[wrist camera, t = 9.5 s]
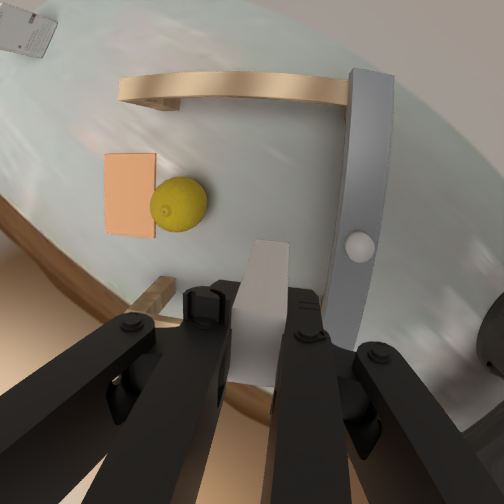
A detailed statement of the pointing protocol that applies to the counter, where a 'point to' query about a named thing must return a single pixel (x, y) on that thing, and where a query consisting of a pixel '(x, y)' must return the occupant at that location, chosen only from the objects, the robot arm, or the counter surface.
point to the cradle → (218, 85)
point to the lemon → (178, 204)
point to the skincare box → (24, 31)
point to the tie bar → (359, 203)
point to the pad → (129, 194)
